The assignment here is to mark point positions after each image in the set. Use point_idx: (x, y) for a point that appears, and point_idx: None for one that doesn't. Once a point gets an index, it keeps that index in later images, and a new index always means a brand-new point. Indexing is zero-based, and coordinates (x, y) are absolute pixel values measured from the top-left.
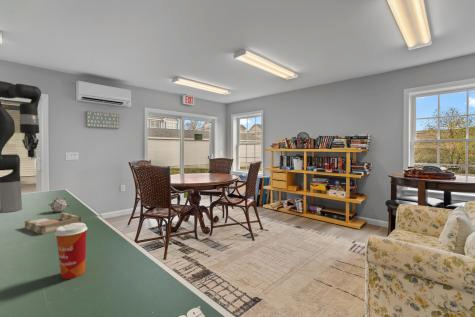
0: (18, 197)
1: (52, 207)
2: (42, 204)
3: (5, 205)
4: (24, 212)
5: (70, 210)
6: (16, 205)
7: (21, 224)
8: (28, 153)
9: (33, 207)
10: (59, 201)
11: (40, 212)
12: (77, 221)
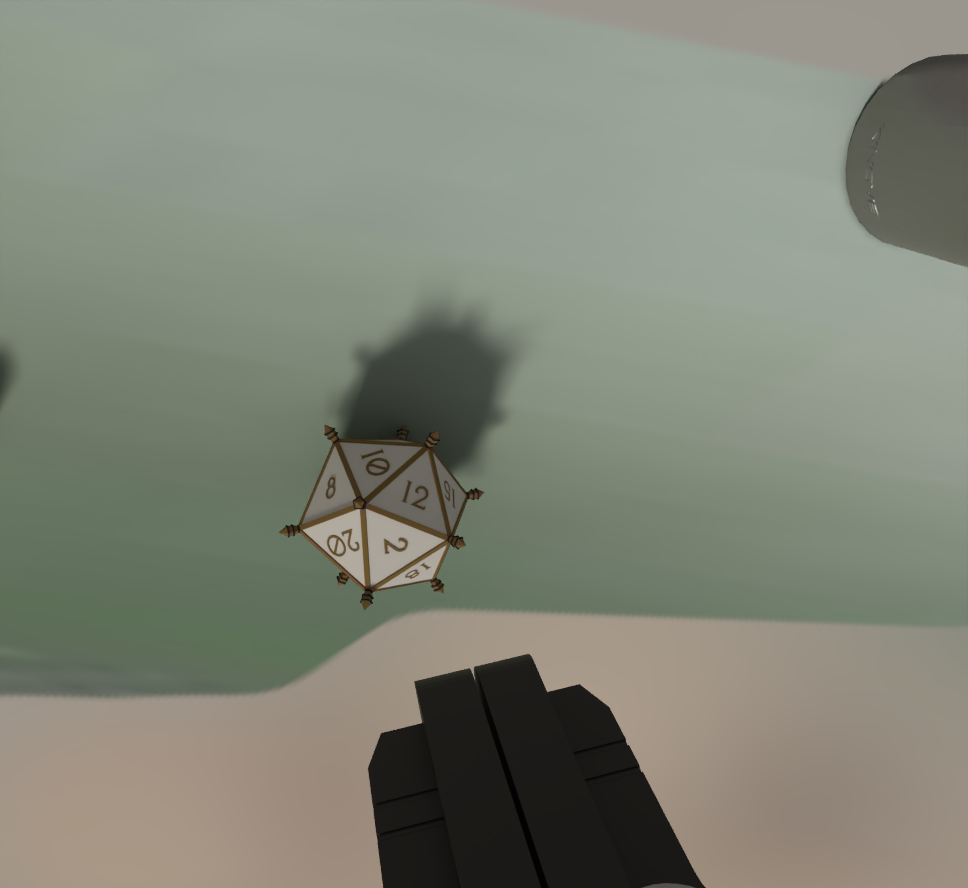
0: (957, 238)
1: (351, 443)
2: (924, 431)
3: (930, 93)
4: (694, 229)
5: None
6: (884, 196)
7: (85, 86)
8: (498, 771)
9: (861, 342)
10: (341, 536)
11: (538, 343)
12: None
